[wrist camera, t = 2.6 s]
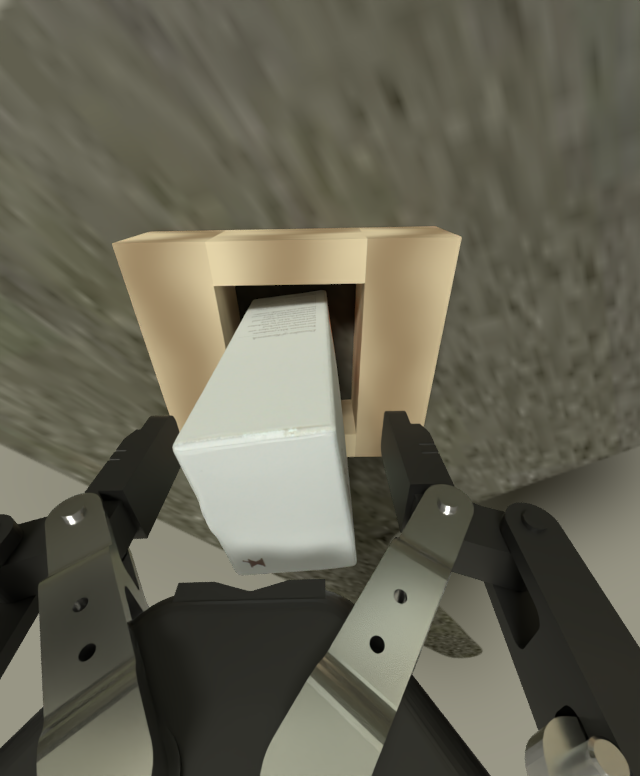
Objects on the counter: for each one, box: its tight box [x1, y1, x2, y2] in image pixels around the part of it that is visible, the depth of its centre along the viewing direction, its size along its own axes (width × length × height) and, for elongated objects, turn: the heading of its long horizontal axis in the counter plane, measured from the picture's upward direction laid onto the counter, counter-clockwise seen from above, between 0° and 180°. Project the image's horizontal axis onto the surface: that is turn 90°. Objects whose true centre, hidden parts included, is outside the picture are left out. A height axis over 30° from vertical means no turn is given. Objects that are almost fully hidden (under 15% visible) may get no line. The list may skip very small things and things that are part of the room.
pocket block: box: [112, 226, 462, 457], centre depth 18 cm, size 14×12×4 cm
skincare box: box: [172, 290, 357, 575], centre depth 14 cm, size 6×4×12 cm
